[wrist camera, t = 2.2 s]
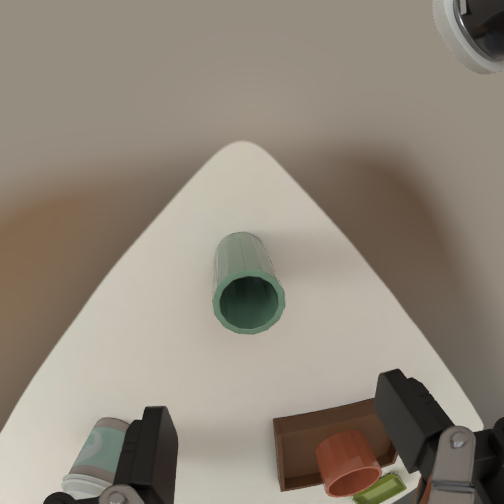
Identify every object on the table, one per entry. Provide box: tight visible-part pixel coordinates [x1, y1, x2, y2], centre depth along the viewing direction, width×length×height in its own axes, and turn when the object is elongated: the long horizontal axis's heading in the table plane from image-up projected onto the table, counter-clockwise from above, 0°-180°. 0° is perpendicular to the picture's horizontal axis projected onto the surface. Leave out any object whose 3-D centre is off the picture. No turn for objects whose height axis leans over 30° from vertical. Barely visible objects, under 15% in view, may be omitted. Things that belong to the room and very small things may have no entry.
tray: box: [273, 398, 398, 492], centre depth 35 cm, size 17×14×3 cm
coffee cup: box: [62, 418, 130, 500], centre depth 27 cm, size 8×9×12 cm
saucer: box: [352, 474, 407, 504], centre depth 41 cm, size 9×9×2 cm
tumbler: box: [315, 430, 382, 497], centre depth 33 cm, size 7×7×7 cm
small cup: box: [212, 232, 285, 334], centre depth 23 cm, size 4×4×9 cm
